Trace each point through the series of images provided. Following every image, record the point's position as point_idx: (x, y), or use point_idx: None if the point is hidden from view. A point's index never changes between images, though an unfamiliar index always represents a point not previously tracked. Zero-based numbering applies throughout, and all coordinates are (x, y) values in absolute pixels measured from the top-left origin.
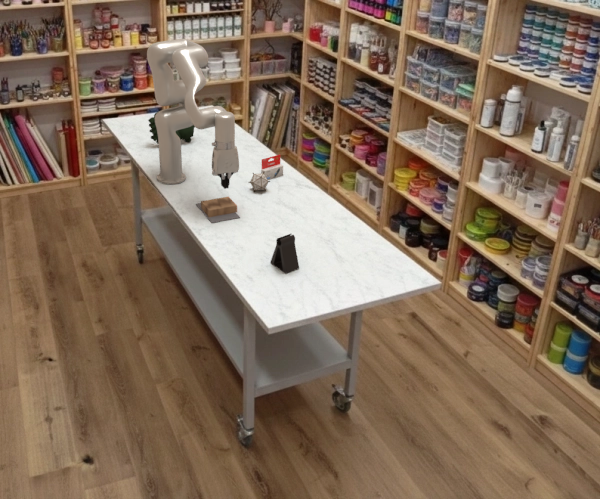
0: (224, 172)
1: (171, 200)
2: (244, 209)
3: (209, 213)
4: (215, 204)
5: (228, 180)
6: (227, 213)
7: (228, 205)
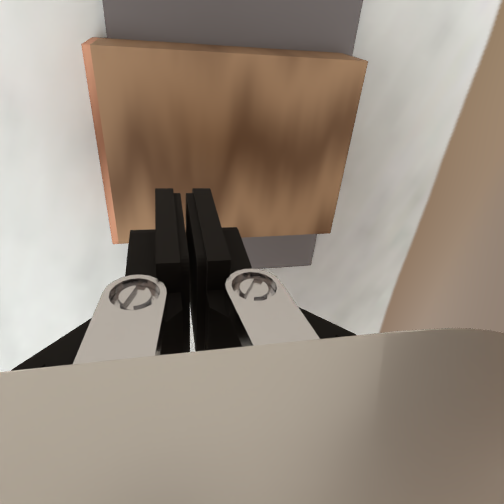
0: (335, 355)
1: (380, 324)
2: (5, 77)
3: (352, 56)
4: (266, 149)
5: (155, 250)
6: (187, 43)
7: (169, 84)
